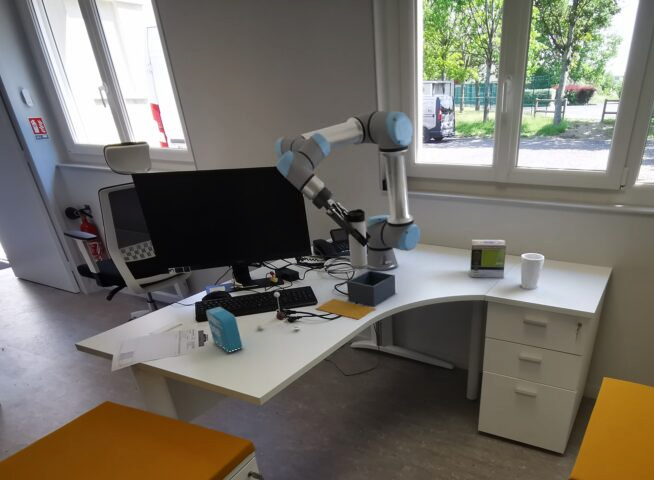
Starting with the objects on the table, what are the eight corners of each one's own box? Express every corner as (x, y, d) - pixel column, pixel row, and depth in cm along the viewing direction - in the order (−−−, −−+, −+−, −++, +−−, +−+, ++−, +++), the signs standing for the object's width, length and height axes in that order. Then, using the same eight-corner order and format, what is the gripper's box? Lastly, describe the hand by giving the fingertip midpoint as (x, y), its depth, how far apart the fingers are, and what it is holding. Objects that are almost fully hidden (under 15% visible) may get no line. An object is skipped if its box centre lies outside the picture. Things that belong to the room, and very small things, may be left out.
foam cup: (541, 284, 197) (546, 254, 190) (537, 291, 190) (541, 261, 183) (520, 281, 200) (524, 252, 193) (515, 288, 193) (518, 258, 186)
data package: (213, 342, 151) (204, 309, 144) (226, 338, 154) (218, 305, 147) (230, 355, 144) (221, 320, 137) (243, 350, 146) (235, 315, 140)
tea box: (502, 271, 212) (505, 239, 204) (503, 278, 204) (506, 245, 196) (469, 270, 213) (471, 238, 205) (469, 277, 205) (471, 244, 197)
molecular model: (290, 315, 170) (284, 283, 163) (300, 331, 158) (295, 297, 152) (253, 322, 164) (246, 289, 158) (261, 339, 153) (254, 304, 146)
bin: (348, 300, 182) (346, 281, 178) (370, 288, 193) (369, 270, 189) (374, 306, 177) (373, 287, 172) (395, 293, 188) (394, 275, 184)
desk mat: (315, 309, 174) (315, 308, 174) (333, 299, 183) (333, 298, 182) (358, 319, 166) (358, 318, 166) (375, 309, 174) (374, 308, 174)
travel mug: (370, 265, 172) (367, 209, 161) (363, 270, 167) (360, 213, 156) (355, 263, 174) (352, 208, 163) (347, 268, 168) (343, 211, 158)
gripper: (317, 196, 166) (364, 241, 174) (304, 206, 150) (357, 256, 158) (330, 180, 163) (377, 227, 172) (318, 189, 147) (371, 241, 155)
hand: (367, 241), depth 165 cm, fingers closed on travel mug, 6 cm apart
